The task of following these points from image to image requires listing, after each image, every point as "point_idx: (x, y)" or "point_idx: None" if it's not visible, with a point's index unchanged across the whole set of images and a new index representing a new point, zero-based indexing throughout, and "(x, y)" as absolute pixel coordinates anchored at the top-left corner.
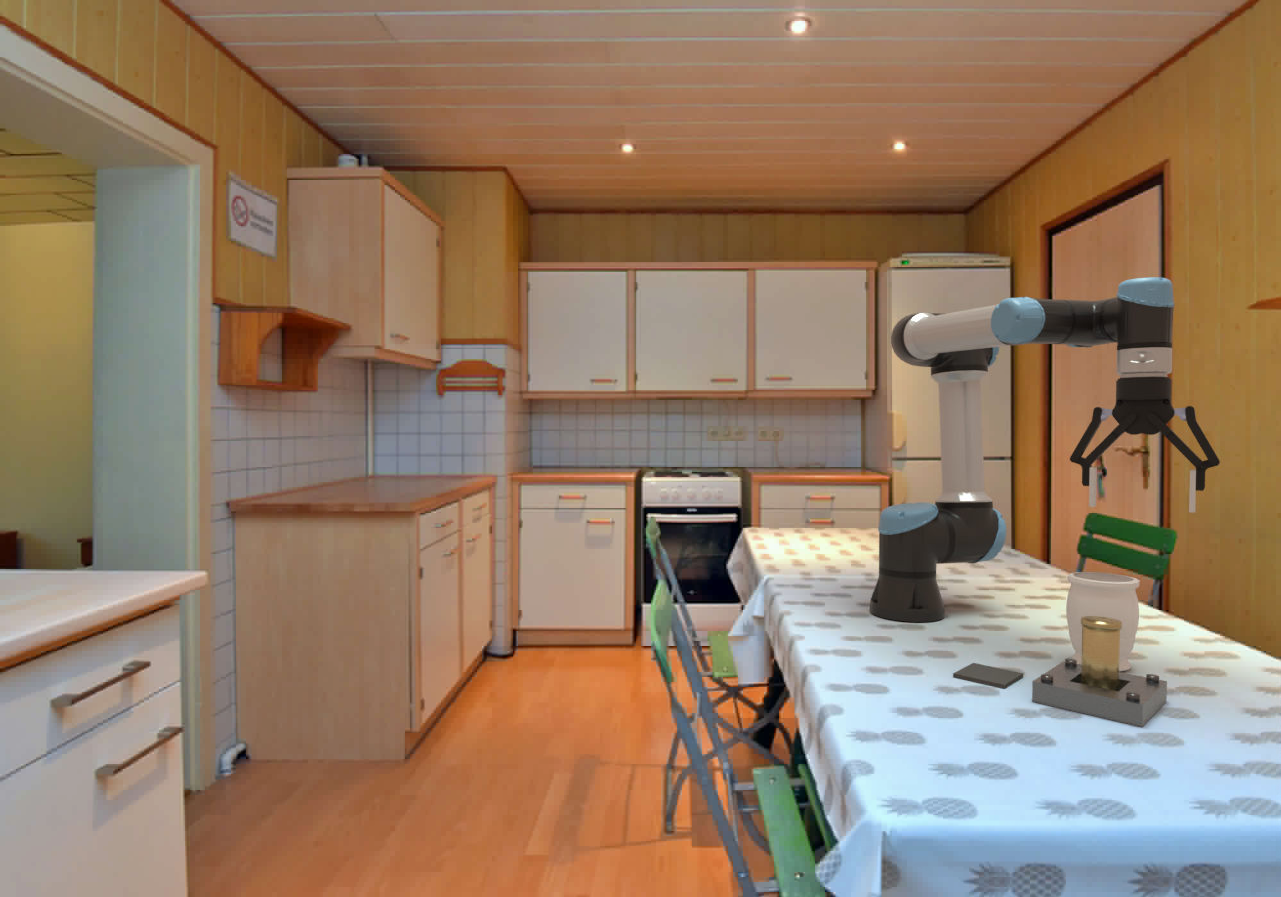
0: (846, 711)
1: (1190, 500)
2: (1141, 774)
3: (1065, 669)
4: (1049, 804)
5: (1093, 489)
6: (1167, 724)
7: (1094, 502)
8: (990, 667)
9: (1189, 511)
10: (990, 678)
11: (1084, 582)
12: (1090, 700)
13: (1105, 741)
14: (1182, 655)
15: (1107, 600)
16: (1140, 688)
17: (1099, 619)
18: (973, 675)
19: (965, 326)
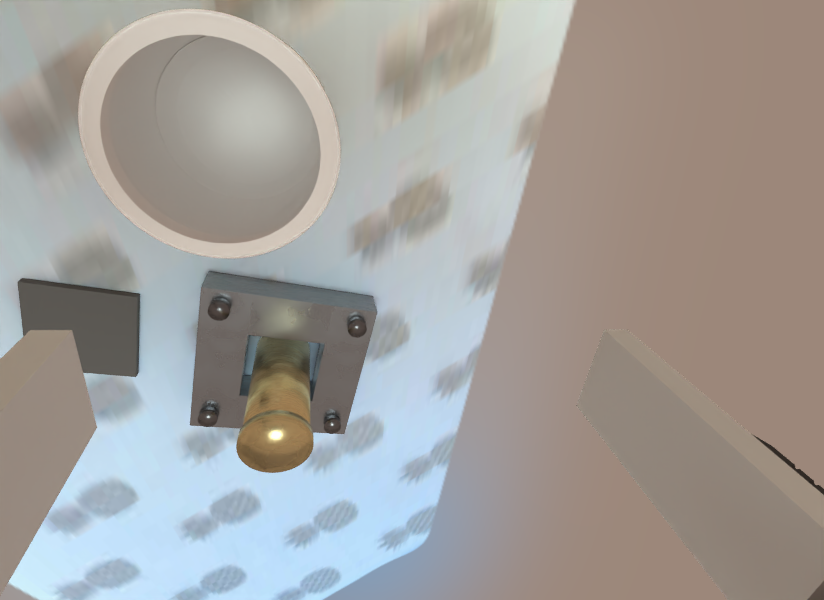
0: None
1: (616, 450)
2: (343, 519)
3: (218, 338)
4: (281, 597)
5: (22, 540)
6: (369, 386)
7: (79, 436)
8: (65, 294)
9: (580, 408)
10: (99, 358)
11: (177, 245)
12: None
13: (306, 472)
14: None
15: (256, 232)
16: (339, 370)
17: (271, 441)
18: None
19: None
